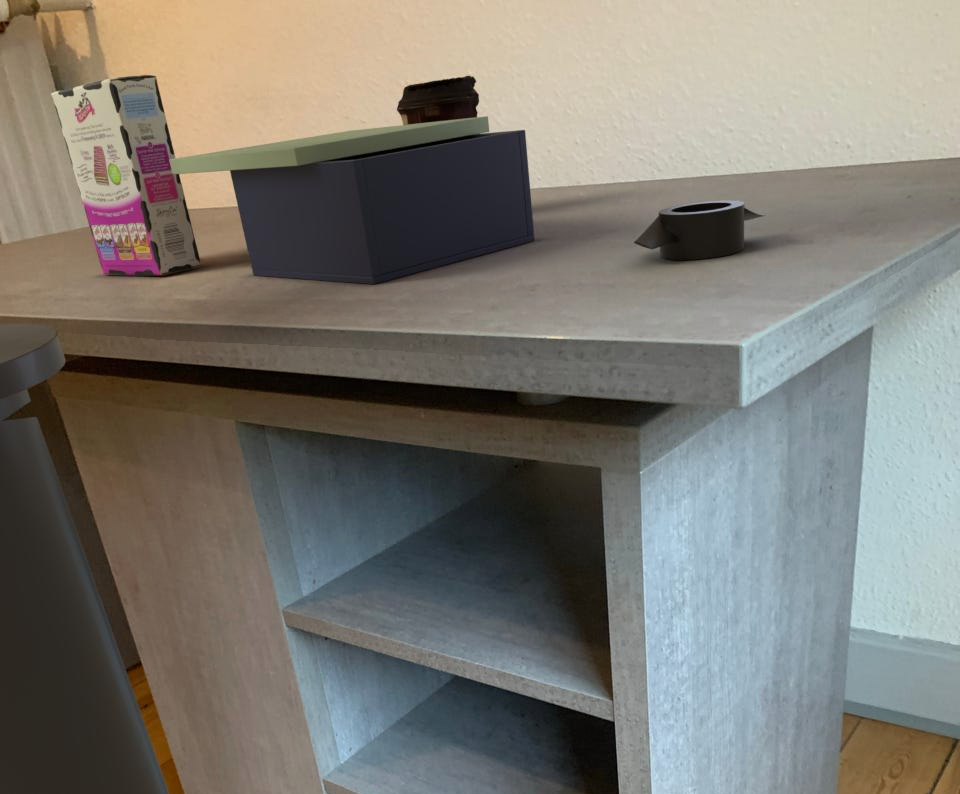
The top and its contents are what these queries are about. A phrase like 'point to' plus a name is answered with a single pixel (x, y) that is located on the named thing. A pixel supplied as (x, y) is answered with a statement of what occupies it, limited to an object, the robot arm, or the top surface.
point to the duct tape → (698, 230)
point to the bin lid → (329, 146)
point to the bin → (387, 209)
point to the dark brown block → (439, 101)
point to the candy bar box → (127, 176)
